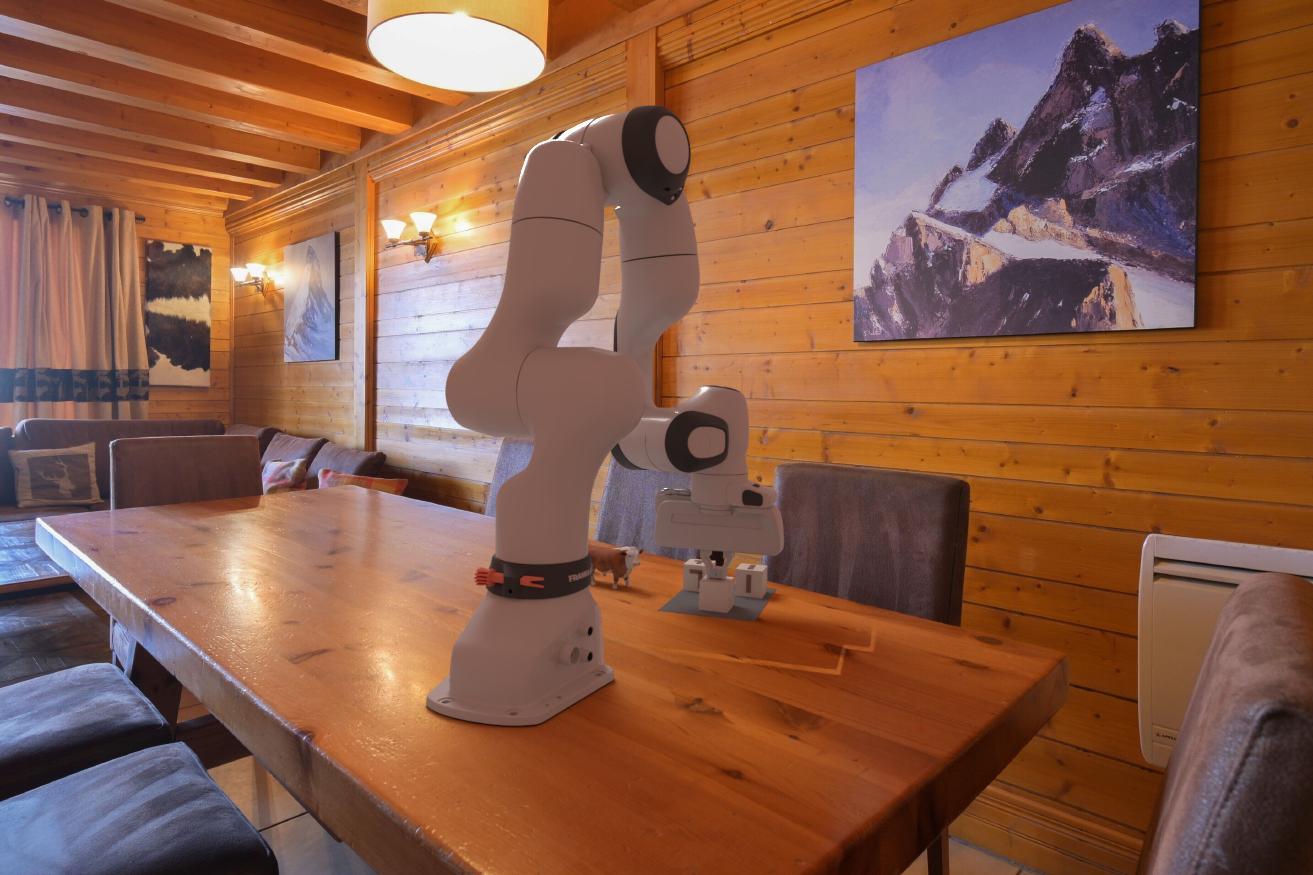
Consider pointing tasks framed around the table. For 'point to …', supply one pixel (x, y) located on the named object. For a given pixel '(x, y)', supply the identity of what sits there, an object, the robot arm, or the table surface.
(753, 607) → the mat
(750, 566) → the digit block 1
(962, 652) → the table surface
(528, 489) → the robot arm
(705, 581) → the plain block
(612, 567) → the bull figurine
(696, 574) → the digit block 7
